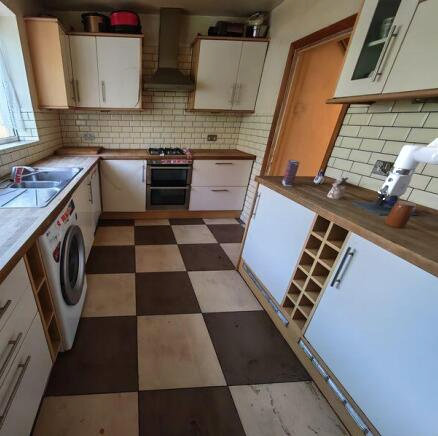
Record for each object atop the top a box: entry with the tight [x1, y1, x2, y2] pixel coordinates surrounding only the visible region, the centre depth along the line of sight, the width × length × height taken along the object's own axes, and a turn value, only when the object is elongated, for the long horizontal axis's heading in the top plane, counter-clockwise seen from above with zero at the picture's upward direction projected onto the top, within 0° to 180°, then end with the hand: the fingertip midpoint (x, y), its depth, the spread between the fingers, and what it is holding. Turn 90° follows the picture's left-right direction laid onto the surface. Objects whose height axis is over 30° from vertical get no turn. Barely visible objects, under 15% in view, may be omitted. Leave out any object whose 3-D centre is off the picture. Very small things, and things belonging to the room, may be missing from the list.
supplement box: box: [281, 159, 300, 188], centre depth 149 cm, size 9×5×16 cm, turn 161°
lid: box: [385, 197, 398, 205], centre depth 115 cm, size 7×7×2 cm
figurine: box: [327, 176, 349, 200], centre depth 129 cm, size 7×7×12 cm
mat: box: [351, 201, 419, 217], centre depth 117 cm, size 20×16×1 cm
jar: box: [384, 200, 417, 229], centre depth 98 cm, size 6×6×10 cm
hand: (384, 205), depth 116 cm, fingers closed on lid, 6 cm apart
